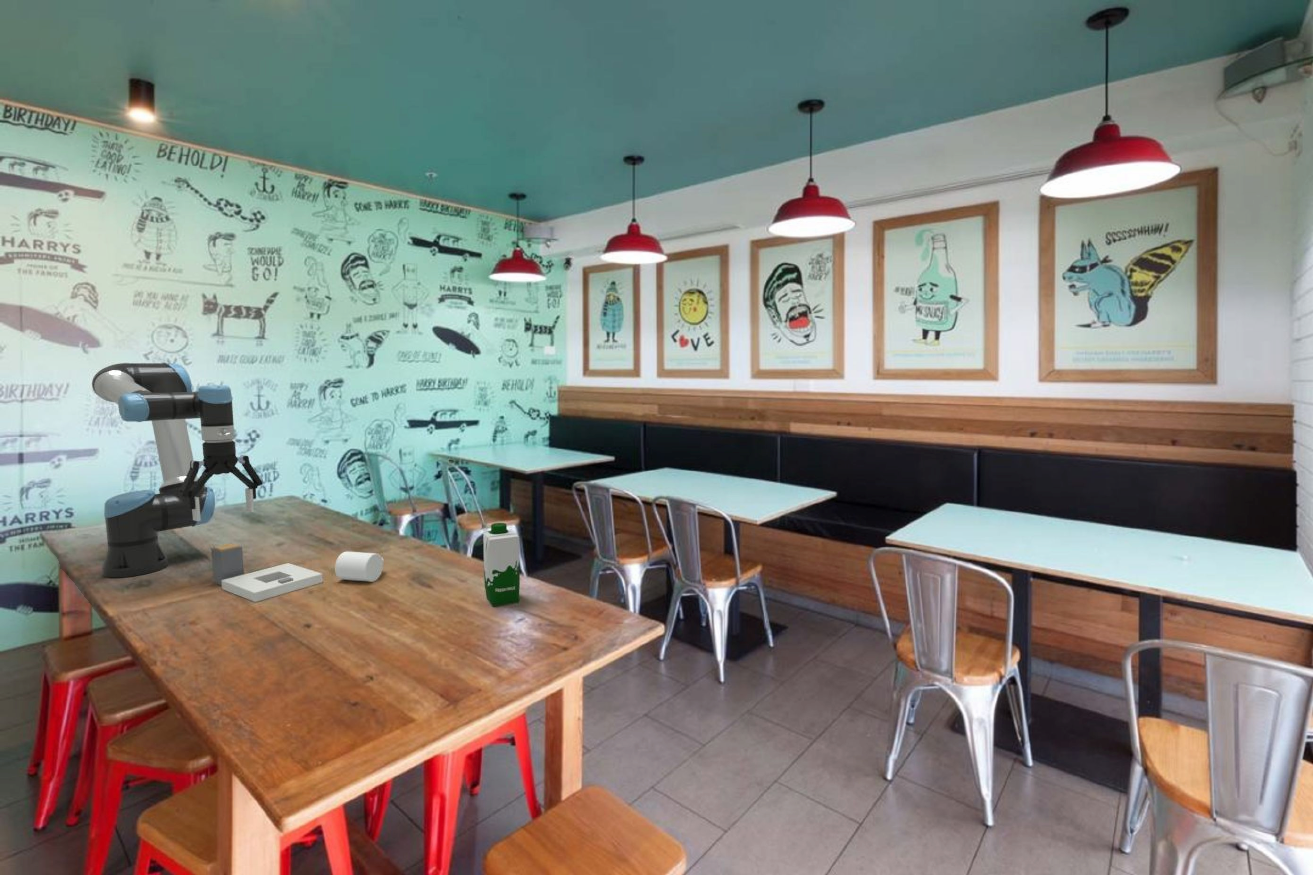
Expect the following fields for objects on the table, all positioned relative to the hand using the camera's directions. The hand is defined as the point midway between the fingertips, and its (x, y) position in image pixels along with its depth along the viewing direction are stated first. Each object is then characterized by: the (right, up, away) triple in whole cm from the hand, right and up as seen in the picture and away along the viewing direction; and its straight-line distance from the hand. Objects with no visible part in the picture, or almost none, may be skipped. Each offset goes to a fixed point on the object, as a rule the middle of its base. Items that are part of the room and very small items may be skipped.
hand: (224, 515), depth 177 cm
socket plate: (+14, -20, -1) cm, 24 cm away
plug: (0, -19, +2) cm, 19 cm away
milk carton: (+81, -21, -11) cm, 85 cm away
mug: (+37, -19, +6) cm, 42 cm away
